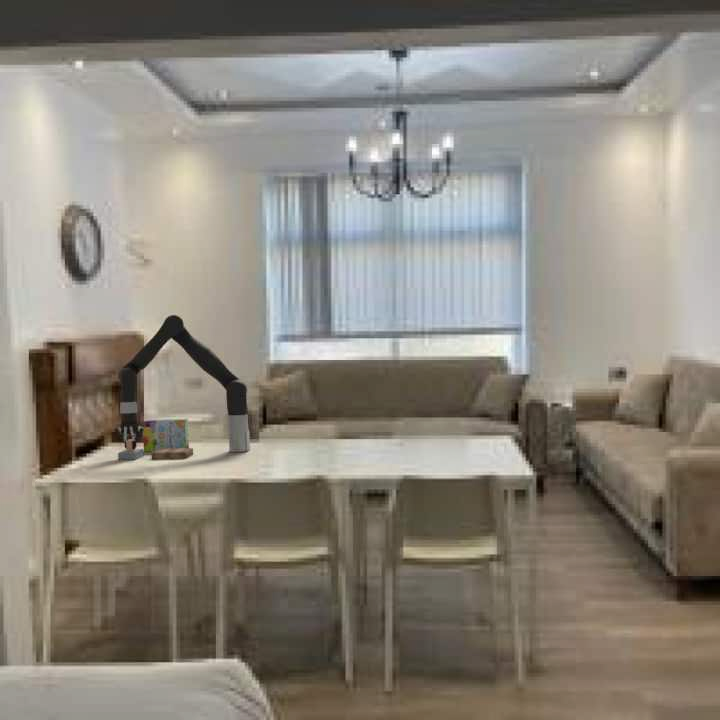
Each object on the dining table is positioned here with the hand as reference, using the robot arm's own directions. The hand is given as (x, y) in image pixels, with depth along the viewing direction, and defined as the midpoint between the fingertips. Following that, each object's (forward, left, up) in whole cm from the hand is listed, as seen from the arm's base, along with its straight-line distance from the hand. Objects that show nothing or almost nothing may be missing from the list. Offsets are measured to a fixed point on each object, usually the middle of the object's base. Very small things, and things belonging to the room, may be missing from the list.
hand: (130, 449), depth 421 cm
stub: (0, 0, -4) cm, 4 cm away
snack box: (-10, -22, -4) cm, 25 cm away
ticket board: (-19, 0, -4) cm, 20 cm away
